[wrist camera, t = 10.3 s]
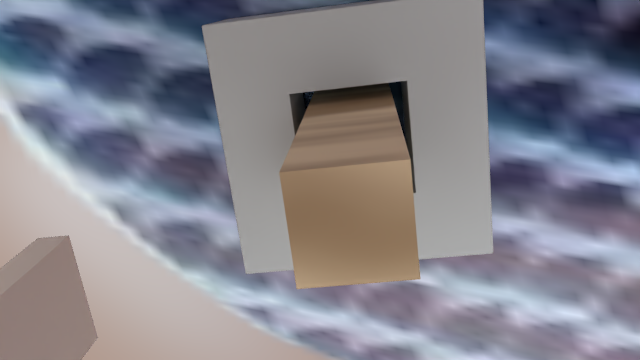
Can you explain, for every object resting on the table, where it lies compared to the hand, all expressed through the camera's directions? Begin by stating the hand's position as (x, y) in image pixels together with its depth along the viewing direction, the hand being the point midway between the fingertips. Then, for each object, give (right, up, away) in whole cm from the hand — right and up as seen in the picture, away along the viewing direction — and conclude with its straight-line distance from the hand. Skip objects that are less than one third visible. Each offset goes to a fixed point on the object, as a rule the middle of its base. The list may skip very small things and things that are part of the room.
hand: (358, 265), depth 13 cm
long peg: (+1, +5, +16) cm, 17 cm away
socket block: (+1, +5, +16) cm, 17 cm away
